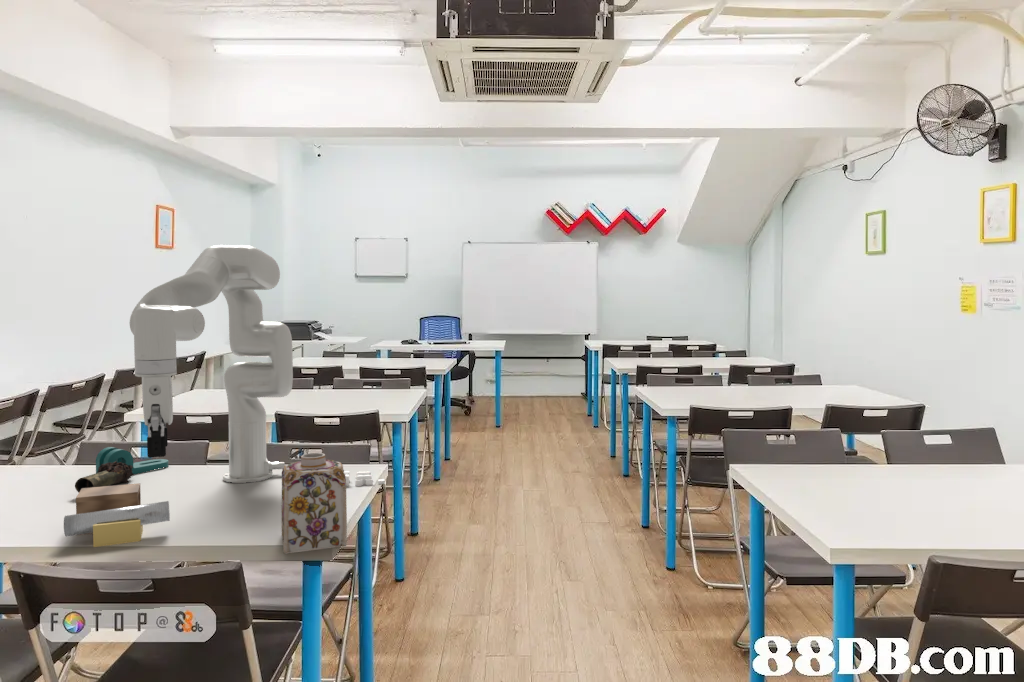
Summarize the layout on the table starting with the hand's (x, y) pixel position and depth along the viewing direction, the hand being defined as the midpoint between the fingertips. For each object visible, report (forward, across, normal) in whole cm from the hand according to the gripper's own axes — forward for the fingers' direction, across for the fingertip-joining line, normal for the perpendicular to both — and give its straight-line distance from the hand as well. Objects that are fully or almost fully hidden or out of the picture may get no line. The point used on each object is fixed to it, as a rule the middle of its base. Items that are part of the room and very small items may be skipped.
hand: (157, 451), depth 140 cm
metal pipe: (+20, +40, +17) cm, 48 cm away
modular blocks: (+19, +22, -46) cm, 55 cm away
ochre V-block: (+17, 0, +7) cm, 19 cm away
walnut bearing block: (+17, +10, +10) cm, 22 cm away
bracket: (+19, +63, +9) cm, 66 cm away
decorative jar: (+17, -18, -28) cm, 38 cm away
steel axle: (+13, 0, +7) cm, 15 cm away
